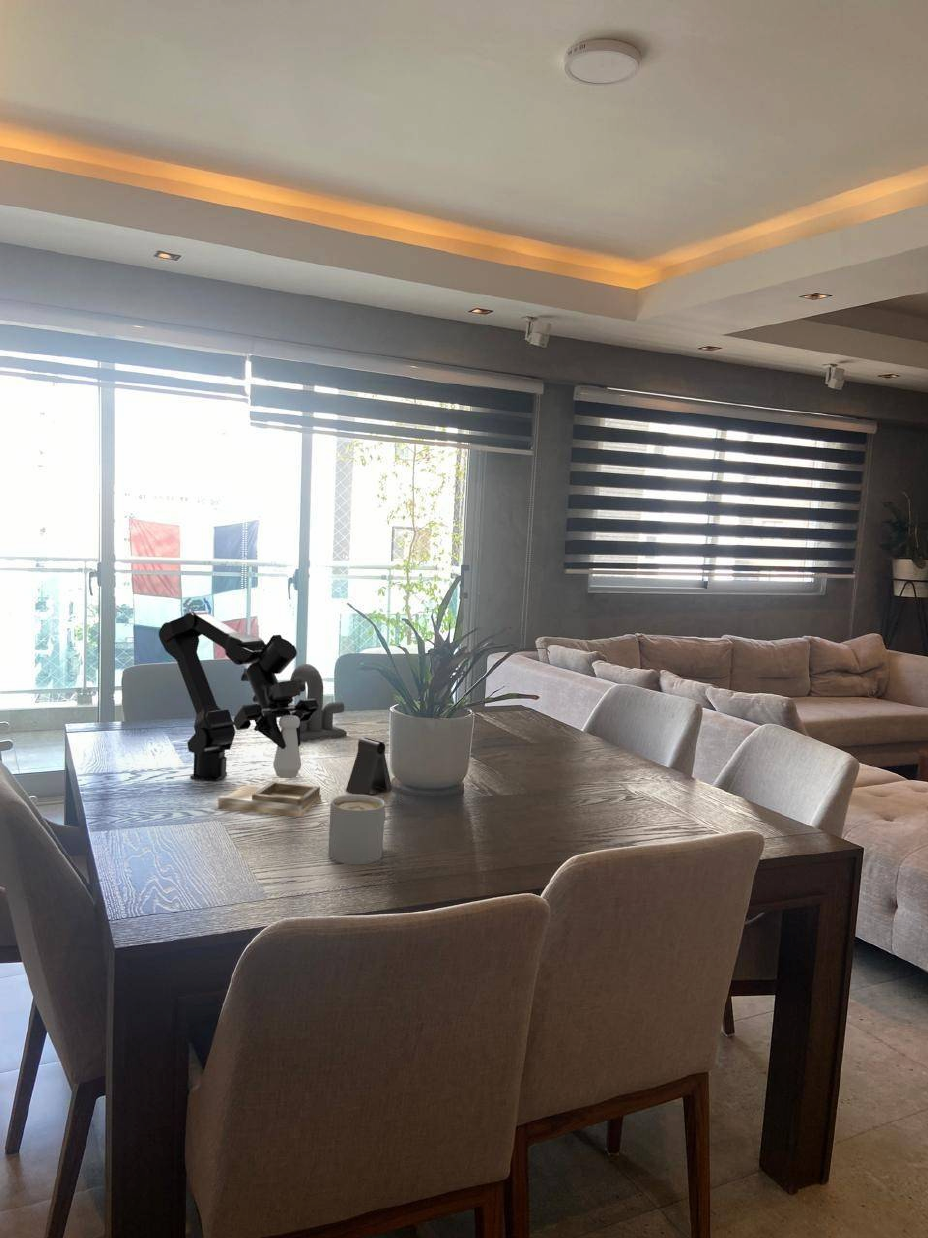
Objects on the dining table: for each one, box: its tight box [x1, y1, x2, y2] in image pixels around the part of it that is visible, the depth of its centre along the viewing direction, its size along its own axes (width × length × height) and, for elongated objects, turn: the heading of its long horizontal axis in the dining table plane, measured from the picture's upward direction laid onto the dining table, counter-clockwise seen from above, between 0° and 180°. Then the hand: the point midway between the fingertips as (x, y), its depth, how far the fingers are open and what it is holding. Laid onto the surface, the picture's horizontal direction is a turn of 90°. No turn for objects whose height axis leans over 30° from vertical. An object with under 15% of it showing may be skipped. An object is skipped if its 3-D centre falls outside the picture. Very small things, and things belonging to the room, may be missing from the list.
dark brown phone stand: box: [345, 737, 393, 797], centre depth 214 cm, size 9×6×12 cm, turn 139°
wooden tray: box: [217, 780, 322, 818], centre depth 201 cm, size 18×13×3 cm
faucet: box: [288, 663, 348, 742], centre depth 267 cm, size 18×16×20 cm
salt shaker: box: [272, 715, 302, 779], centre depth 199 cm, size 6×6×13 cm
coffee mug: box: [327, 794, 386, 865], centre depth 174 cm, size 13×10×10 cm
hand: (291, 747), depth 198 cm, fingers closed on salt shaker, 3 cm apart
